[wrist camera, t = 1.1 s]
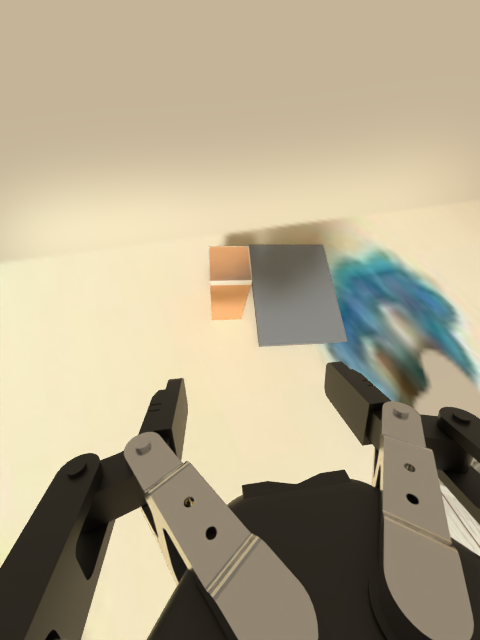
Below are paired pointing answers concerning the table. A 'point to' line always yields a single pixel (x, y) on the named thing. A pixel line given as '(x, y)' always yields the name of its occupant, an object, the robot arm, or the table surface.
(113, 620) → the table surface
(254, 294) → the slate mat
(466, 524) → the supplement box
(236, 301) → the orange rectangular block
